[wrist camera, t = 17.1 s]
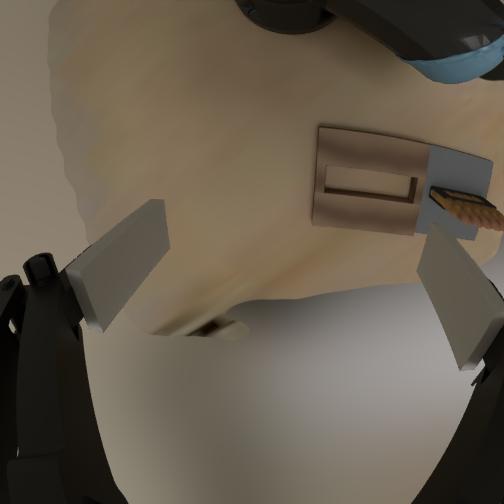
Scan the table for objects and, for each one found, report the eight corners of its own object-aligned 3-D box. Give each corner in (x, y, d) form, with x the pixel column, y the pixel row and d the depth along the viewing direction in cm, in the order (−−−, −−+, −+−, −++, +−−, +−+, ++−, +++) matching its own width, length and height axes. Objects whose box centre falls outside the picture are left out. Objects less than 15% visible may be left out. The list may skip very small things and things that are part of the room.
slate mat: (426, 143, 33) (429, 144, 33) (490, 160, 31) (493, 162, 31) (411, 229, 40) (413, 232, 39) (471, 238, 38) (474, 240, 38)
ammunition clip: (428, 196, 36) (463, 231, 26) (430, 185, 35) (467, 216, 25) (479, 206, 35) (518, 240, 24) (482, 196, 34) (522, 228, 23)
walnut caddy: (318, 126, 36) (319, 127, 34) (424, 142, 33) (430, 145, 31) (311, 218, 43) (311, 225, 41) (408, 229, 40) (413, 236, 38)
